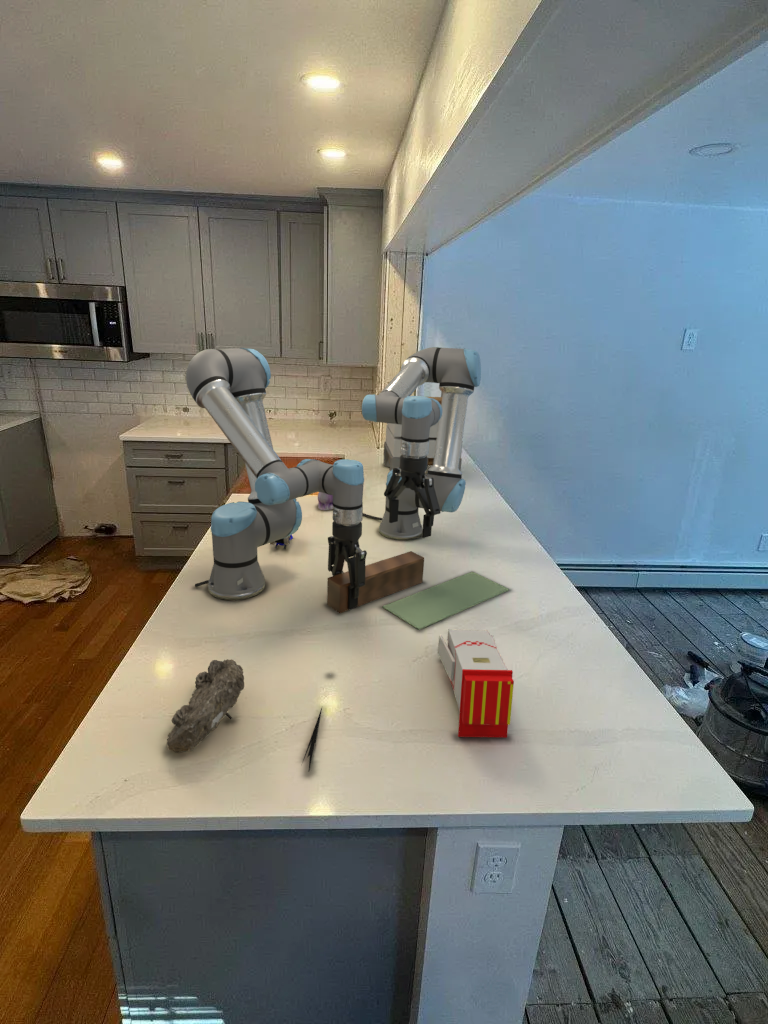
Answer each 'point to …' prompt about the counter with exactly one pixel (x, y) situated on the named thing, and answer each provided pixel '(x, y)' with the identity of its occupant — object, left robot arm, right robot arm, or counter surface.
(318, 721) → the feather
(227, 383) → the left robot arm
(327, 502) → the figurine
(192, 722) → the fossil
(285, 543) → the figurine character
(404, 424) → the right robot arm
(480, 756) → the counter surface
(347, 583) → the walnut box
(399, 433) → the grey slatted box
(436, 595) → the mat
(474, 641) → the toy
